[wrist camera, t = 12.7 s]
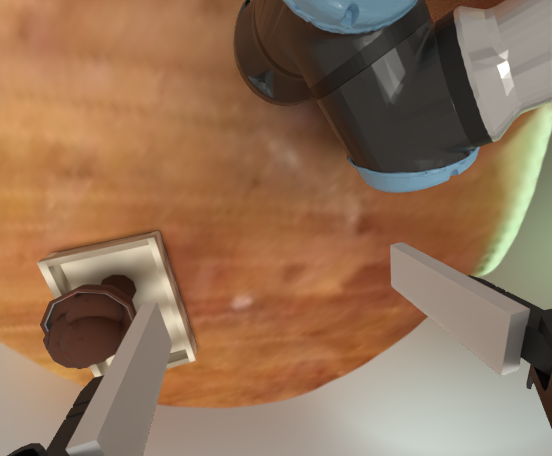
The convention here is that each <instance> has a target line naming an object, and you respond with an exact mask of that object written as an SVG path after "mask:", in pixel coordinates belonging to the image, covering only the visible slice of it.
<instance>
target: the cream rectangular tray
mask: <svg viewBox="0 0 552 456" xmlns="http://www.w3.org/2000/svg"><path fill="white" fill-rule="evenodd" d="M37 264H38V266H39V268H40V270H41V272H42V274H43V276H44V278H45V280H46V282H47V284H48V286H49V288H50V289H51V291H52V293H53V295H54V297H55V299H56V298H58V297H60V296H62V295H64V294H66V293H67V292H69V291H71V290H73V289H75V288H77V287H79V286H81V285H86V284H95V285H101V282H102V280H103V279H105V278H107V277H109V276H111V275H125V276H126V277H128V278H129V279H131V280H132V281H134V284H135V287H136V290H137V291H136V293H135V295H134V297H133V299H132V301H133V304H134V307H135V310H136V313H137V312H138V311H139V309H140V307H141V305H144V304H149V303H153V302H157V303H158V306H159V309H160V311H161V314H162V317H163V320H164V322H165V325H166V328H167V330H168V333H169V336H170V339H171V341H172V348H171V352H170V355H169V359H168V363H167V367H166V369H168V368H172V367H175V366H179V365H182V364H186V363H189V362H193V361H196V353H197V345H196V341H195V338H194V335H193V332H192V329H191V326H190V323H189V320H188V317H187V314H186V311H185V308H184V305H183V302H182V299H181V296H180V293H179V290H178V286H177V283H176V280H175V277H174V274H173V271H172V268H171V265H170V262H169V259H168V256H167V253H166V250H165V247H164V244H163V241H162V238H161V235H160V231H155V232H150V233H145V234H140V235H136V236H131V237H126V238H122V239H117V240H112V241H107V242H103V243H98V244H93V245H89V246H84V247H79V248H74V249H70V250H65V251H60V252H56V253H52V254H50V255H48V256H47V257H45V258H43V259H42V260H40V261H38V262H37ZM114 356H115V355H113V356H111V357H110V358H108V359H107V360H106V361H104V362H102V363H100V364H94V365H91V366H90V368H91V370H92V372H93V374H94V376H95V377H99V376H102V375H105V373H106V371H107V369H108V368H109V366H110V364H111V362H112V360H113V358H114Z"/></svg>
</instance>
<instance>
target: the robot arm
mask: <svg viewBox="0 0 552 456" xmlns="http://www.w3.org/2000/svg"><path fill="white" fill-rule="evenodd" d="M234 53H235V59H236V63H237V66H238V69H239V71H240V73H241V75H242V77H243V79H244V81H245V82H246V84H247V85H248V86H249V87H250V89H251V90H252V91H253V92H254V93H255V94H257V95H258V96H259V97H261V98H262V99H264V100H266V101H268V102H270V103H273V104H276V105H282V106H290V105H296V104H299V103H302V102H304V101H306V100H308V99H309V98H311V97H313V96H314V97H315V99H316V101H317V103H318V105H319V107H320V108H321V110H322V112H323V114H324V115H325V117H326V119H327V121H328V122H329V124H330V126H331V128H332V129H333V131H334V133H335V135H336V136H337V138H338V140H339V142H340V143H341V145H342V147H343V149H344V150H345V152H346V154H347V158H348V160H349V162H350V163H351V165H352V166H354V167H355V168H356V170H357V171H358V173H359V174H360V176H361V177H362V179H363V180H364V182H365V183H366V184H368V185H369V186H372V187H373V188H375V189H377V190H379V191H384V192H393V193H400V192H410V191H416V190H421V189H425V188H429V187H432V186H435V185H438V184H440V183H443V182H445V181H447V180H449V177H450V176H451V175H459V174H460V173H462V172H463V171H465V170H466V169H467V168H468V167H469V166H470V165H471V164H472V163H473V162H474V160H475V159H476V157H477V154H478V151H479V147H480V146H483V145H486V144H489V143H492V142H495V141H498V140H499V139H500V138H501V137H502V135H503V134H504V133H505V132H506V130H507V129H508V128H509V126H510V125H511V124H512V122H513V121H514V120H515V119H516V118H517V117H518V116H519V115H521V114H522V113H524V112H527V111H529V110H532V109H535V108H538V107H540V106H543V105H546V104H548V103H551V102H552V0H505V1H503V2H502V3H500V4H499V5H497V6H495V7H492V8H489V9H478V8H471V7H463V6H459V7H458V8H456V9H454V10H453V11H451V12H450V13H448V14H447V15H445V16H444V17H442V18H441V19H439V20H438V21H436V22H432V19H431V17H430V14H429V11H428V8H427V6H426V3H425V0H245V2H244V4H243V5H242V7H241V9H240V12H239V14H238V17H237V21H236V26H235V33H234ZM391 286H392V287H393V288H394V289H395V290H397V291H398V292H399V293H400V294H402V295H403V296H404V297H405V298H406V299H408V300H409V301H410V302H411V303H413V304H414V305H415V306H416V307H417V308H419V309H420V310H421V311H422V312H423V313H425V314H426V315H427V316H428V317H430V318H431V319H432V320H433V321H434V322H436V323H437V324H438V325H439V326H440V327H442V328H443V329H444V330H445V331H447V332H448V333H449V334H450V335H451V336H453V337H454V338H455V339H456V340H458V341H459V342H460V343H461V344H462V345H464V346H465V347H466V348H468V350H470V351H471V352H472V353H473V354H475V355H476V356H477V357H478V358H479V359H481V360H482V361H483V362H484V363H486V364H487V365H488V366H489V367H490V368H492V369H493V370H494V371H495V372H497V373H498V374H499V375H501V376H503V375H506V374H509V373H512V372H515V371H518V370H519V364H520V359H521V357H522V358H523V359H524V360H526V361H527V362H529V363H530V364H531V365H530V370H529V374H528V379H527V388H528V389H531V387H532V384H533V383H534V384H535V387H536V389H537V392H538V394H539V397H540V400H541V402H542V405H543V407H544V410H545V412H546V415H547V418H548V420H549V423H550V426H551V428H552V309H548V310H543V309H541V308H539V307H537V306H535V305H533V304H531V303H529V302H527V301H525V300H523V299H521V298H519V297H517V296H515V295H513V294H511V293H509V292H505V290H503V289H501V288H499V287H496V286H495V285H493V284H491V283H489V282H487V281H485V280H483V279H480V278H477V277H473V276H470V275H468V276H466V275H464V274H462V273H460V272H459V271H457V270H455V269H453V268H451V267H449V266H447V265H445V264H443V263H441V262H439V261H438V260H436V259H434V258H432V257H430V256H428V255H426V254H424V253H422V252H420V251H418V250H417V249H415V248H413V247H411V246H409V245H407V244H405V243H403V242H401V243H397V244H393V245H391ZM171 348H172V341H171V339H170V336H169V333H168V330H167V328H166V325H165V322H164V320H163V317H162V314H161V311H160V309H159V306H158V303H157V302H153V303H149V304H144V305H141V307H140V309H139V311H138V312H137V314H136V316H135V318H134V320H133V322H132V324H131V326H130V328H129V330H128V331H127V333H126V335H125V337H124V339H123V341H122V343H121V345H120V347H119V349H118V350H117V352H116V354H115V356H114V358H113V360H112V362H111V364H110V366H109V368H108V369H107V371H106V373H105V375H102V376H99V377H95V378H93V379H92V380H91V381H90V382H89V383H88V384H87V386H86V387H85V388H84V389H83V390H82V391H81V392H80V394H79V396H78V397H77V399H76V401H75V402H74V404H73V408H71V409H70V411H69V413H68V414H67V416H66V420H64V421H63V423H62V425H61V426H60V428H59V430H58V431H57V433H56V435H55V437H54V438H53V440H52V442H51V444H50V445H49V447H48V448H47V450H45V449H44V447H43V446H41V444H40V443H37V444H36V443H35V444H34V443H31V444H29V445H26V446H24V447H21V448H19V449H17V450H15V451H14V452H12V453H11V454H9V455H7V456H143V454H144V450H145V447H146V443H147V439H148V435H149V431H150V427H151V424H152V420H153V416H154V412H155V408H156V405H157V401H158V397H159V393H160V390H161V386H162V382H163V378H164V374H165V371H166V367H167V363H168V359H169V355H170V352H171Z"/></svg>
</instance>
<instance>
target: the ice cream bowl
mask: <svg viewBox="0 0 552 456" xmlns="http://www.w3.org/2000/svg"><path fill="white" fill-rule="evenodd" d="M136 291H137V290H136V287H135V284H134V281H132V280H131V279H129V278H128V277H126V276H125V275H111V276H109V277H107V278H105V279H103V280H102V282H101V285H95V284H86V285H81V286H79V287H77V288H75V289H73V290H71V291H69V292H67V293H66V294H64V295H62V296H60V297H58V298H56V299H54V300H52V301H50V302H49V304H48V307H47V309H46V312H45V314H44V316H43V319H42V321H41V324H40V326H41V328H42V330H43V332H44V334H45V337H44V339H43V342H44V344H45V347H46V349H47V350H48V352H49V354H50V356H51V357H52V359H53V360H54V361H55V362H57V363H59V364H61V365H63V366H65V367H67V368H77V369H82V368H87V367H89V366H91V365H94V364H100V363H102V362H104V361H106V360H107V359H108V358H110V357H111V356H113V355H115V354H116V352H117V350H118V349H119V347H120V345H121V343H122V341H123V339H124V337H125V335H126V333H127V331H128V330H129V328H130V326H131V324H132V322H133V320H134V318H135V316H136V314H137V313H136V310H135V307H134V304H133V301H132V299H133V297H134V295H135V293H136Z"/></svg>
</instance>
